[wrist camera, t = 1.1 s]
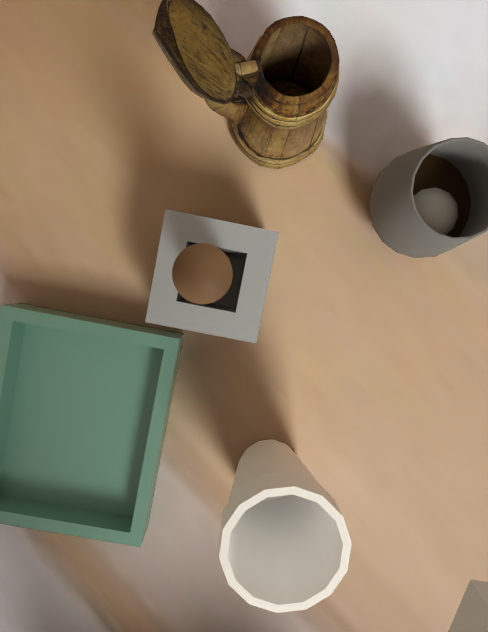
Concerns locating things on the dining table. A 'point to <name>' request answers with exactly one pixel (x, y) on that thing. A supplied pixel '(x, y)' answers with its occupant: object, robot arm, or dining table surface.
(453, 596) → the dining table surface
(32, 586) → the dining table surface
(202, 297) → the dowel
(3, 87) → the dining table surface
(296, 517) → the foam cup
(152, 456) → the tray
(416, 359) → the dining table surface
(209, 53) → the wooden mug
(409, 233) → the cup
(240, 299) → the grey hollow square block
